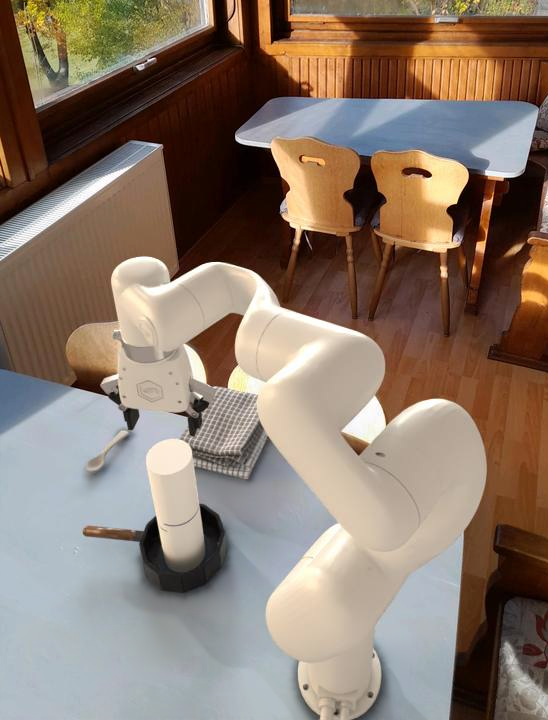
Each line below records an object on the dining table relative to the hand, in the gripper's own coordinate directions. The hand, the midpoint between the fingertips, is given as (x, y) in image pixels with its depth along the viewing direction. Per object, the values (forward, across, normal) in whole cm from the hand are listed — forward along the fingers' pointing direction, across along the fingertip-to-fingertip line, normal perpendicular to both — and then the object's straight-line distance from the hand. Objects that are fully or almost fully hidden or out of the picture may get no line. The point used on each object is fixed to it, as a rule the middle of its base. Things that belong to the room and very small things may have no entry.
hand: (164, 426), depth 102 cm
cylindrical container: (+31, 0, -1) cm, 31 cm away
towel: (+31, +2, +25) cm, 40 cm away
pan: (+31, -5, -1) cm, 31 cm away
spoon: (+31, -22, +19) cm, 43 cm away
